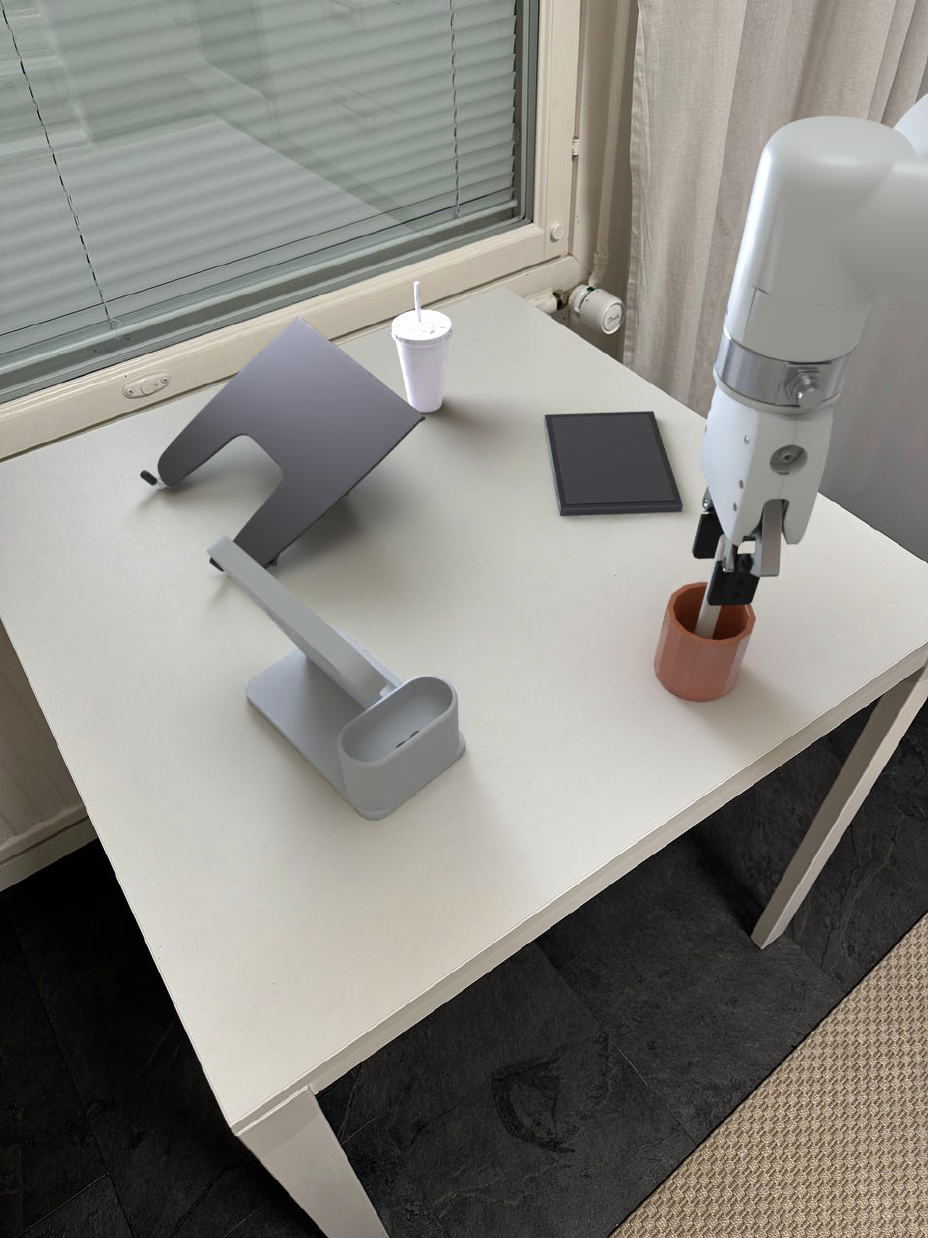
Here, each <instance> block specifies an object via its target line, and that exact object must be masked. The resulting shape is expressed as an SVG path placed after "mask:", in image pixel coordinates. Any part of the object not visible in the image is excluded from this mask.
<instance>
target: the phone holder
mask: <svg viewBox="0 0 928 1238" xmlns="http://www.w3.org/2000/svg"><path fill="white" fill-rule="evenodd" d="M206 553H207V554H208V555H209V556H210V558H211V557H212V558H213V559H214V560H215V561H216V562H217V563H218V564H219V565H220V566H221V568H222V569H223V570H224V571H225V572H226V573H227V574H226V575H228V576H229V577H230V578H231V579H232V580H233V581H234V583H235V584H236V585H238V587H239V588H240V589H241V590H242V591H243V592H244V593H245V594H246V595H247V596H248V597H249V598H250V599H251V600H252V602H254V604H255V605H256V606H258V608H260V609H261V611H263V613H264V614H265V615H266V616H267V617H268V618H269V619H270V620H271V621H272V622H273V623H274V624H275V625H276V626H277V628H279V630H280V631H281V632H282V633H283V634H284V635H285V636H286V637H287V638H288V639H289V640H290V641H291V642H292V643H293V644H294V645H295V646H296V647H297V649H295V650H294V651H292V652H291V653H289V654H288V655H286V656H285V657H283V658H282V659H280V660H278V661H277V662H275V663H274V664H272V665H271V666H269V667H268V668H266V669H264V670H263V671H261V672H260V673H258V674H257V675H255V676H253V677H252V678H250V679H249V681H248V682H247V684H246V686H245V694H246V697H247V700H248V702H249V703H250V704H251V705H252V706H253V707H254V708H255V709H256V710H257V711H258V712H259V713H260V714H261V715H262V716H263V717H264V718H265V719H266V720H267V721H268V722H269V723H270V724H271V725H272V726H273V727H274V728H275V729H276V730H277V731H278V733H280V734H281V736H283V737H284V738H285V739H286V740H287V742H288V743H290V744H291V745H292V747H293V748H295V750H297V752H299V754H300V755H302V757H303V758H304V759H305V760H306V761H307V762H308V763H309V764H310V765H311V766H312V767H313V768H314V769H315V770H316V771H317V772H318V773H319V774H320V775H321V776H322V777H323V778H324V779H325V781H327V782H328V783H329V784H330V785H331V786H332V787H333V788H334V789H335V790H336V791H337V793H338V794H340V795H341V797H343V798H344V799H345V800H346V801H347V803H348V804H349V805H350V806H351V807H352V808H353V809H355V810H356V812H357V813H358V814H359V815H361V816H362V817H363V818H364V819H367V820H370V821H371V820H372V821H378V820H381V819H385V818H386V817H388V816H389V815H390V814H392V813H393V812H394V811H395V810H396V809H398V808H399V807H401V806H402V805H403V804H405V802H406V801H408V800H409V799H411V798H412V797H413V796H414V795H415V794H417V793H418V792H419V791H420V790H422V789H423V788H424V787H426V786H427V785H428V784H429V783H430V782H432V781H433V780H434V779H435V778H437V777H438V776H439V775H441V774H442V773H443V772H444V771H446V770H447V769H448V768H449V767H451V766H452V765H453V764H454V763H456V762H457V761H458V760H459V759H460V758H462V756H463V755H464V753H465V751H466V739H465V737H464V734H463V733H462V732H461V731H460V729H459V699H458V698H459V697H458V693H457V690H456V688H455V687H454V686H453V684H452V683H451V682H450V681H448V680H447V679H446V678H444V677H440V676H438V675H434V674H421V675H417V676H414V677H411V678H410V679H407V680H406V681H405V682H403V680H401V679H400V678H399V677H398V676H397V675H395V674H394V673H393V672H392V671H391V670H389V668H387V667H386V666H385V665H384V664H383V663H382V662H381V661H379V660H378V659H377V658H376V657H375V656H373V654H371V653H370V652H368V650H366V649H365V648H364V647H363V646H362V645H361V644H360V643H359V642H357V641H356V640H355V639H354V638H353V637H351V636H350V635H349V634H348V633H347V632H346V631H344V630H341V629H334V628H333V627H331V626H330V625H329V624H328V623H327V622H326V621H324V620H323V619H322V618H321V617H320V616H319V615H318V614H316V613H315V611H313V610H312V609H311V608H310V607H308V606H307V605H306V603H304V602H303V601H302V600H301V599H299V598H298V597H297V596H296V595H295V594H294V593H293V592H291V591H290V590H289V589H288V588H287V587H286V586H285V585H283V584H282V583H281V582H280V581H279V580H278V579H277V578H275V577H274V576H273V575H272V574H271V573H270V572H268V571H267V569H266V570H265V569H264V568H263V567H261V566H260V565H259V564H258V563H257V562H256V561H255V560H253V559H252V558H251V557H250V556H249V555H248V554H247V553H245V552H244V551H243V550H242V549H241V548H240V547H239V546H237V545H236V544H235V543H234V542H233V540H232V539H231V538H229V537H228V536H227V535H226V534H225V533H223V534H221V536H219V538H217V540H216V541H215V542H214V543H212V545H210V546H209V547H208V548H207V549H206Z"/></svg>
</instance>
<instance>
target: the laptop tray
mask: <svg viewBox="0 0 928 1238" xmlns="http://www.w3.org/2000/svg"><path fill="white" fill-rule="evenodd" d="M424 421H426V416H425V415H423V414H422V412H418V411H417V410H416V409H415V408H413V407H412V406H411V405H410V404H409V402H408V401H406V400H405V399H403V398H402V397H401V396H400V395H398V394H397V393H396V392H394V390H392V389H391V388H390V387H389V386H387V385H386V384H385V383H383V382H382V381H381V380H380V379H378V378H377V377H376V376H375V375H373V374H372V373H371V372H370V371H368V370H367V369H366V368H365V367H363V366H362V365H361V364H360V363H359V362H357V360H355V359H353V358H352V357H351V356H350V355H348V354H347V353H345V352H344V351H343V350H342V349H341V348H339V346H337V345H336V344H334V343H333V342H332V341H331V340H330V339H328V338H327V337H326V336H325V335H324V334H322V333H321V332H320V331H318V330H317V329H316V328H315V327H313V326H312V325H311V324H309V323H308V322H307V321H306V320H305V319H303V318H302V317H301V316H297V317H296V318H294V319H293V320H292V321H291V322H290V323H289V324H288V325H287V326H285V328H284V329H282V331H281V332H279V333H278V334H277V335H276V336H275V337H273V339H272V340H271V341H270V342H269V343H267V344H266V345H265V346H264V347H263V348H262V349H261V350H260V351H259V352H258V353H257V354H256V355H255V356H254V357H253V358H252V359H251V360H250V361H249V362H247V364H246V365H244V367H242V368H241V370H240V371H238V372H237V374H236V375H234V377H232V378H231V379H230V381H229V382H227V384H225V385H224V386H223V387H222V388H221V389H220V390H219V392H217V393H216V394H215V396H213V397H212V399H211V400H209V401H208V403H207V404H205V405H204V407H203V408H202V409H200V411H199V412H198V413H197V414H196V415H195V416H194V417H193V418H192V419H191V420H190V421H189V423H188V424H187V425H185V427H184V428H183V429H182V430H181V432H179V434H178V435H177V436H176V437H175V438H174V439H173V440H172V441H171V443H170V444H169V445H168V446H167V447H166V448H165V449H164V450H163V452H162V454H161V455H160V457H159V459H158V462H157V473H158V475H159V477H160V479H161V480H158V478H157V477H156V476H154V475H153V474H152V473H151V472H149V471H148V470H147V469H143V470H142V471H140V474H139V476H140V478H141V479H143V481H145V482H146V483H147V484H148V485H150V486H152V487H153V488H155V489H156V490H163V489H166V488H167V487H168V488H172V487H175V486H177V485H178V484H180V483H181V482H182V481H183V480H185V479H186V478H187V477H188V476H190V475H191V474H192V473H194V472H195V471H197V470H198V469H199V468H200V467H202V466H203V465H205V464H206V463H207V462H208V461H209V460H210V459H212V458H213V457H214V456H216V454H217V453H219V452H220V451H221V450H223V448H224V447H226V446H227V445H228V444H229V443H230V442H232V441H233V440H234V439H237V438H238V437H242V436H247V437H249V438H250V439H252V440H253V441H254V443H256V444H257V445H258V446H259V447H260V448H261V449H262V450H263V451H264V452H265V453H266V454H267V455H268V456H269V457H270V458H271V459H272V460H273V461H274V462H275V463H276V464H277V465H278V467H279V468H280V469H281V472H282V477H281V481H280V483H279V485H278V486H277V488H276V489H275V490H274V491H273V492H272V494H270V496H268V497H267V499H266V500H265V501H264V502H263V503H262V504H261V505H260V507H258V509H257V510H256V511H255V513H254V514H253V515H252V516H251V517H250V518H249V520H248V521H247V522H246V523H245V524H244V525H243V527H242V528H241V529H240V530H239V532H238V533H237V534H236V536H235V537H234V538H233V540H232V541H233V542H234V543H235V544H236V545H237V546H239V547H240V548H241V549H242V550H243V551H244V552H245V553H247V554H248V555H249V556H250V557H251V558H252V559H253V560H255V561H256V562H257V563H258V564H259V565H260V566H261V567H263V568H264V569H265V570H266V571H267V570H268V569H269V568H275V567H277V566H278V558H279V557H280V555H281V554H282V553H283V552H285V551H286V550H287V549H288V548H289V547H290V546H292V545H293V544H294V543H295V542H296V541H297V540H299V538H301V537H302V536H303V535H304V534H306V533H307V532H308V531H309V530H310V529H312V527H314V526H315V525H316V524H317V523H318V522H319V521H320V520H321V519H323V518H324V517H325V516H326V515H328V513H329V512H330V511H332V509H333V508H334V507H336V506H337V505H338V504H339V503H340V502H341V501H342V500H343V499H344V498H345V497H348V495H349V494H350V493H351V492H352V490H353V489H355V488H356V487H357V486H358V485H359V484H360V483H361V482H362V481H363V480H364V479H365V478H366V477H367V476H368V475H369V474H370V473H372V471H373V470H375V469H376V467H378V466H379V465H380V464H381V462H382V461H384V459H386V458H387V457H388V456H389V455H390V454H391V453H392V452H393V451H394V449H395V448H397V447H398V445H400V444H401V443H402V441H404V440H405V438H406V437H407V436H408V435H409V434H410V433H412V431H413V430H414V429H416V427H417V426H418V425H419V424H420V423H422V422H424ZM208 561H209V564H210V565H211V566H213V567H214V568H216V569H217V570H218V571H219V572H221V573H223V574H225V575H228V574H227V573H226V572H225V571H224V570H223V569H222V568H221V566H220V565H219V564H218V563H217V562H216V561H215V560H214V559H213V558H212V557H211V556H210V557H209V560H208Z"/></svg>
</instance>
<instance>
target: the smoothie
mask: <svg viewBox="0 0 928 1238" xmlns="http://www.w3.org/2000/svg"><path fill="white" fill-rule="evenodd" d="M413 287H414V289H413V290H414V304H415V310H410V311H407V312H404V313H402V314H400V315H398V316H397V317H396V318H395V319H394V320H393V322H392V323H391V329H392V331H391V336H392V338H393V340H394V341H395V342H396V347H397V352H398V356H399V361H400V366H401V370H402V375H403V381H404V385H405V390H406V396H407V401H408V404H410V405H411V406H412V407H413V408H415V409H416V410H417V411H418V412H420V413H421V414H422V413H423V414H425V413H432V412H435V411H437V410H439V409H440V408H441V407H442V405H443V396H444V387H445V377H446V369H447V360H448V352H449V351H448V350H449V340H450V339H451V338H452V336H453V328H452V327H453V326H452V321H451V319H450V318H449V317H448V316H447V315H445V314H444V313H442V312H439V311H435V310H430V309H422V308H421V307H422V305H421V284H420V281H414V282H413Z"/></svg>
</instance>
